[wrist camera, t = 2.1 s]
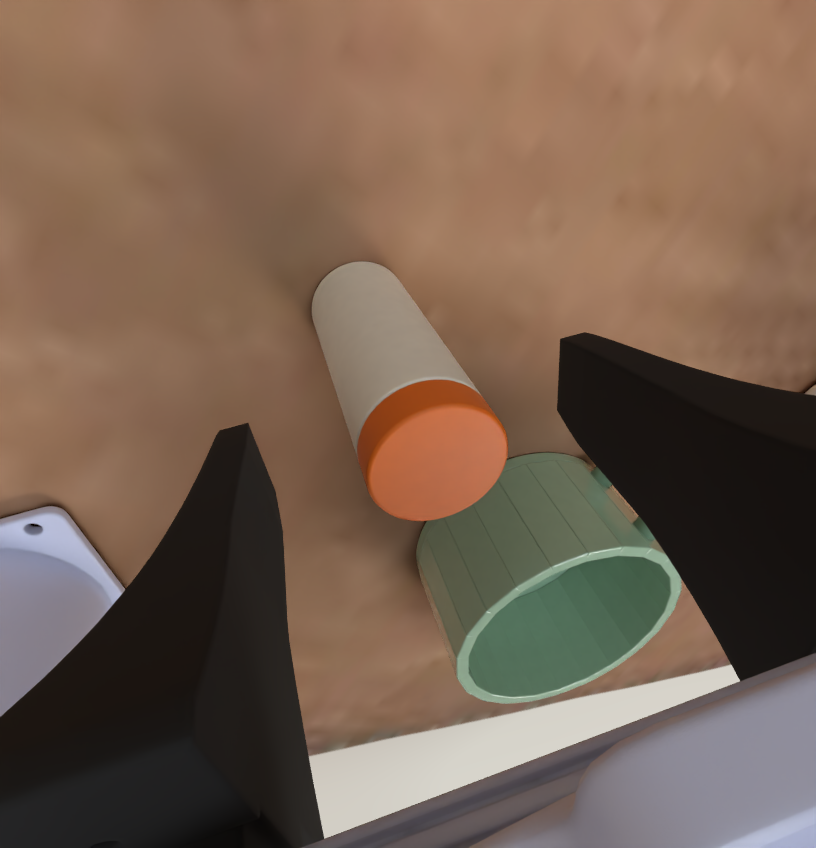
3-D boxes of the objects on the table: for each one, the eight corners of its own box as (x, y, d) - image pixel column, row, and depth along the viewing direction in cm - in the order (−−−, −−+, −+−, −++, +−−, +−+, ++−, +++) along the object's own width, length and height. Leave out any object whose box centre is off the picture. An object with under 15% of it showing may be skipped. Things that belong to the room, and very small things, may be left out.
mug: (515, 614, 30) (565, 712, 26) (374, 576, 25) (406, 691, 21) (683, 451, 26) (776, 536, 22) (555, 366, 21) (644, 455, 16)
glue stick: (323, 360, 18) (380, 539, 12) (300, 273, 16) (352, 430, 10) (410, 337, 18) (511, 498, 12) (398, 250, 16) (508, 386, 10)
